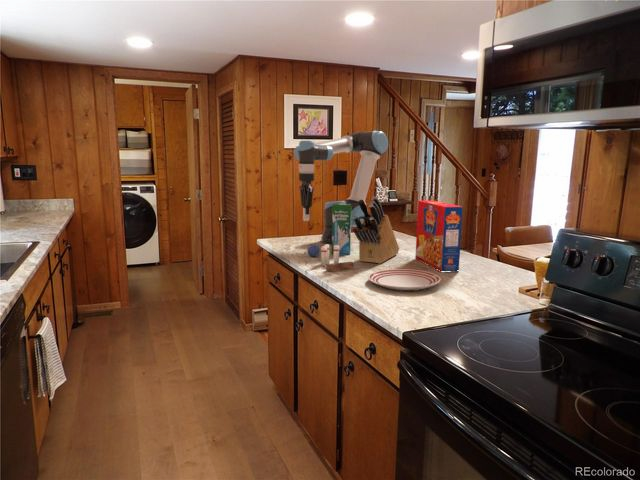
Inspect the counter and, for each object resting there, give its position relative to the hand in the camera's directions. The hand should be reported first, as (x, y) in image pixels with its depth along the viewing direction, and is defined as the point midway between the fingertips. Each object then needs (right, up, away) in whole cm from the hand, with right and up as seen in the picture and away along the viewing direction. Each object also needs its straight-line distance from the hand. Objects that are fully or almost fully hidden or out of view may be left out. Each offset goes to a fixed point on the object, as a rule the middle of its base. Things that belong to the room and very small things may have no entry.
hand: (306, 220), depth 233 cm
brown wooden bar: (+15, -22, -32) cm, 42 cm away
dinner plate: (+39, -27, -53) cm, 71 cm away
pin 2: (+14, -21, -22) cm, 33 cm away
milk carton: (+18, -16, +5) cm, 24 cm away
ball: (+4, -15, -6) cm, 16 cm away
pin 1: (+9, -21, -24) cm, 33 cm away
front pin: (+10, -20, -19) cm, 29 cm away
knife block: (+33, -19, -11) cm, 40 cm away
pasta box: (+59, -21, -20) cm, 66 cm away
